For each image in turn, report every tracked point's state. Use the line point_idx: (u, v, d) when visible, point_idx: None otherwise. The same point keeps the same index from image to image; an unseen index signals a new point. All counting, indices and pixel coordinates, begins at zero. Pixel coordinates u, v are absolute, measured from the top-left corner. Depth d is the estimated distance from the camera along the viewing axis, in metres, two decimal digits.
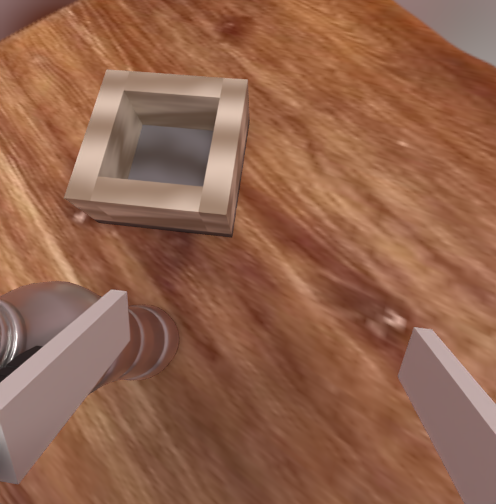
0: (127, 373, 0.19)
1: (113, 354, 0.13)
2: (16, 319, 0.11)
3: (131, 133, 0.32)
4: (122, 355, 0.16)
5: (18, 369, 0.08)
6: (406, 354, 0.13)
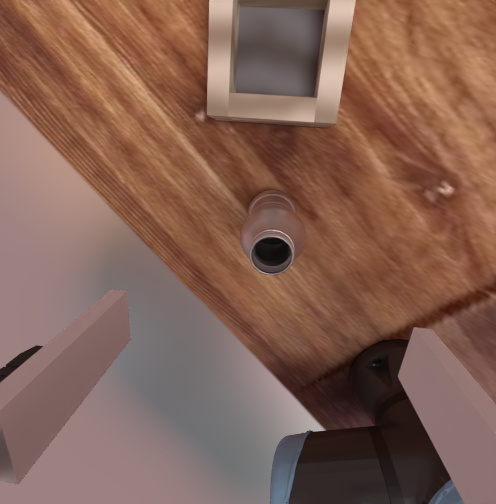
0: None
1: (113, 354, 0.13)
2: (290, 238, 0.25)
3: (236, 27, 0.33)
4: None
5: (18, 369, 0.08)
6: (406, 354, 0.13)
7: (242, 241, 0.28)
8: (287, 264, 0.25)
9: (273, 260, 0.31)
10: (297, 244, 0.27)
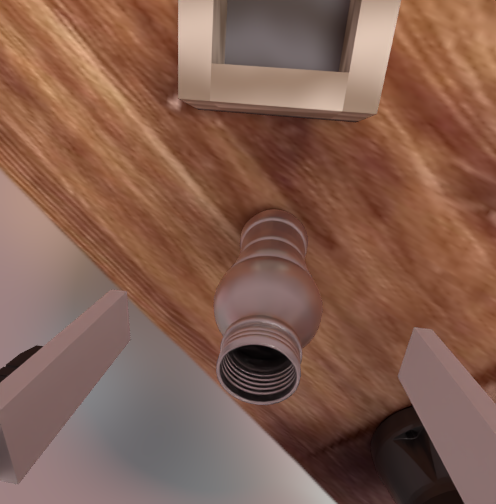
0: None
1: (113, 354, 0.13)
2: (295, 337, 0.13)
3: None
4: None
5: (18, 369, 0.08)
6: (406, 354, 0.13)
7: (215, 315, 0.17)
8: (287, 383, 0.13)
9: None
10: (308, 333, 0.15)
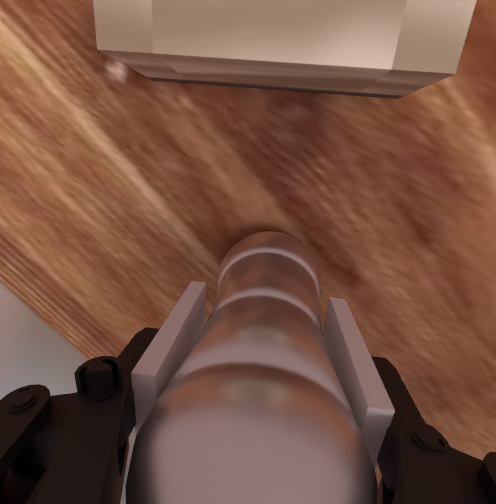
0: None
1: (197, 337, 0.14)
2: None
3: None
4: None
5: (151, 344, 0.10)
6: (325, 321, 0.15)
7: None
8: None
9: None
10: None
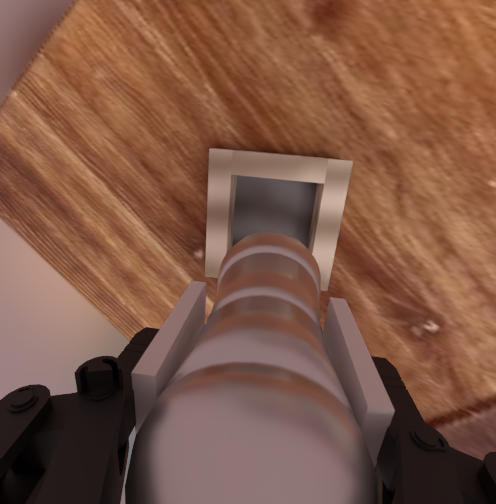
0: None
1: (197, 337, 0.14)
2: None
3: (234, 194, 0.35)
4: None
5: (152, 343, 0.10)
6: (325, 321, 0.15)
7: None
8: None
9: None
10: None
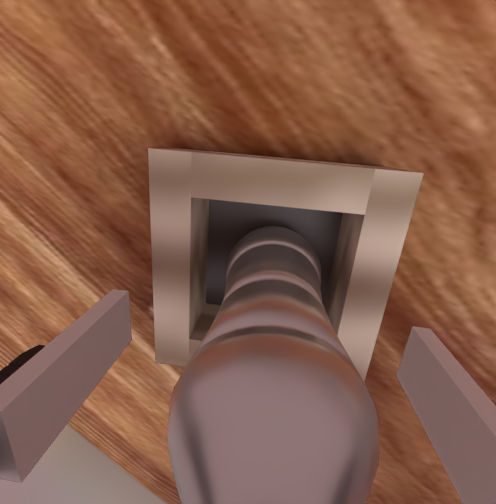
0: None
1: (115, 353, 0.13)
2: None
3: (203, 225, 0.21)
4: None
5: (21, 368, 0.08)
6: (404, 353, 0.13)
7: (169, 448, 0.08)
8: None
9: None
10: None
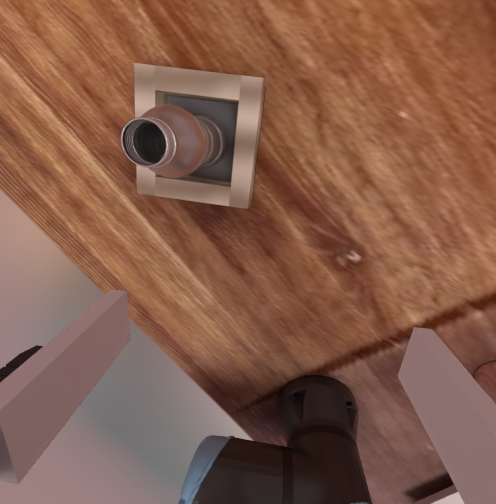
0: (204, 161, 0.33)
1: (113, 354, 0.13)
2: (171, 130, 0.22)
3: None
4: (207, 150, 0.28)
5: (18, 369, 0.08)
6: (406, 354, 0.13)
7: None
8: (165, 157, 0.22)
9: None
10: (188, 146, 0.24)
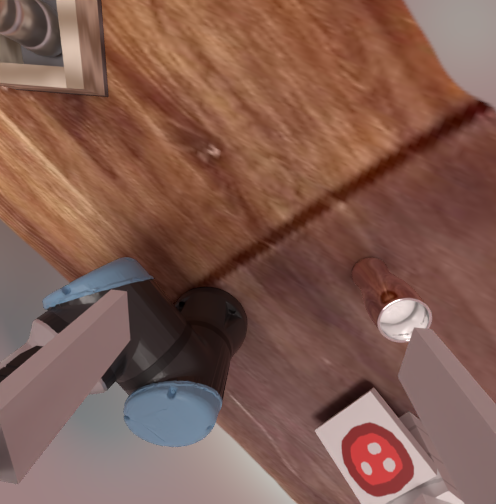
0: (17, 28, 0.34)
1: (113, 354, 0.13)
2: None
3: None
4: None
5: (18, 369, 0.08)
6: (406, 354, 0.13)
7: None
8: None
9: None
10: None
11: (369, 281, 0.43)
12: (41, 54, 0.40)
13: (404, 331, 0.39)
